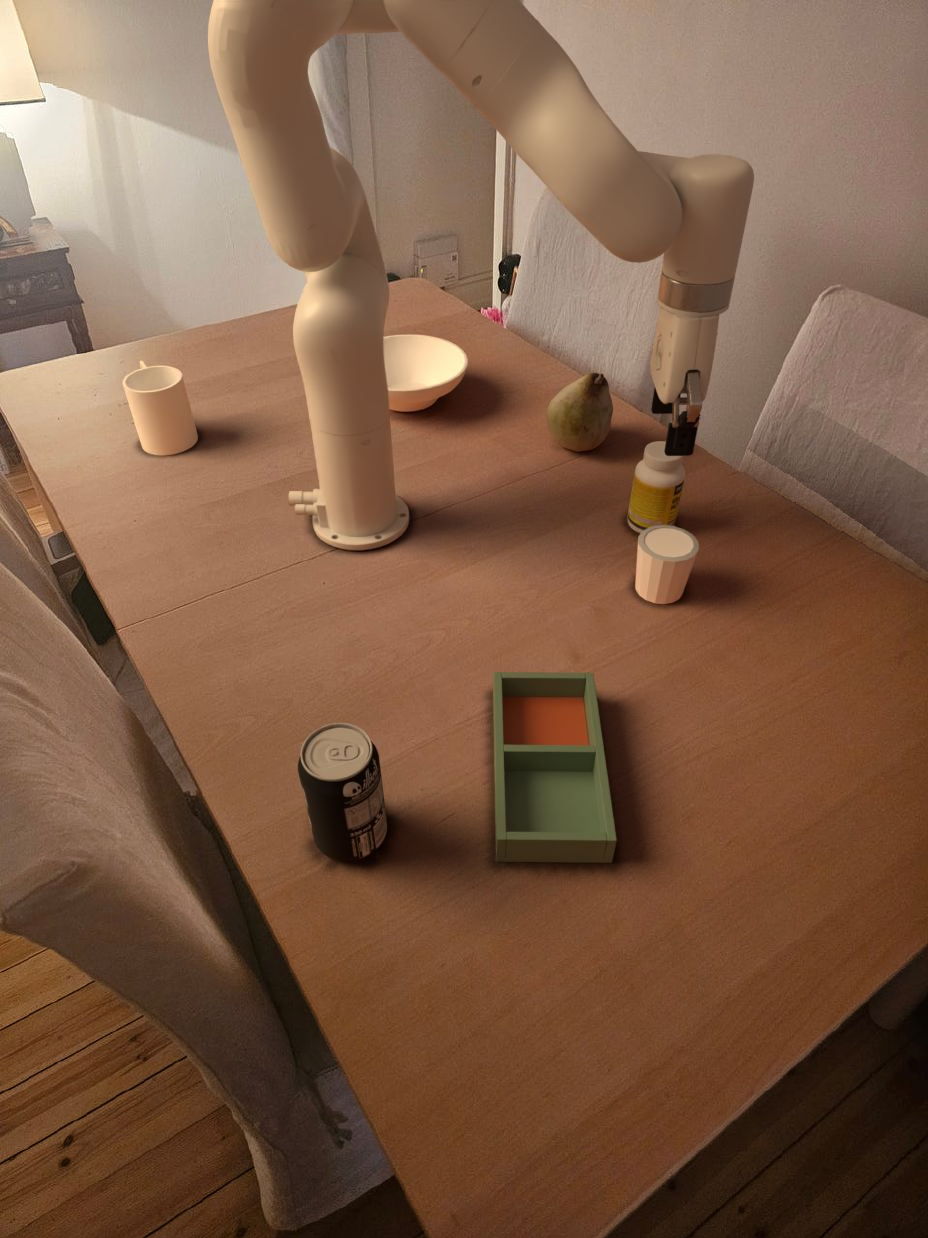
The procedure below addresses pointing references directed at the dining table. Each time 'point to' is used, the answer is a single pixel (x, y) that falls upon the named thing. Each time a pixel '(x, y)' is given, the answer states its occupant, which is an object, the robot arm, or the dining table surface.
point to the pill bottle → (656, 489)
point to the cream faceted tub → (664, 563)
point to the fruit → (581, 413)
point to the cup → (160, 409)
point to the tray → (550, 770)
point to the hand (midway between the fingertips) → (670, 432)
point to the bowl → (421, 370)
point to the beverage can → (343, 791)
